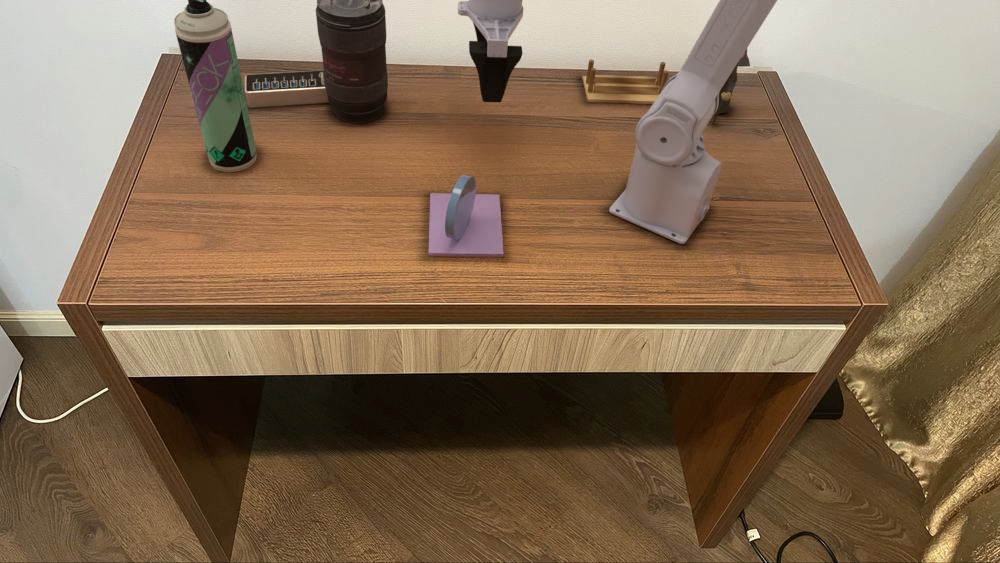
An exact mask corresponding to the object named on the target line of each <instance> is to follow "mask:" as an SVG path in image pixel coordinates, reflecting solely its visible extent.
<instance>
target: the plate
mask: <svg viewBox="0 0 1000 563" xmlns="http://www.w3.org/2000/svg"><path fill="white" fill-rule="evenodd" d="M476 194H477V181H476V178H475V177H474V176H473V175H470V174H467V173H466V174H465V173H464V174H461V175H460V176H459V177H458V179H457V181H456V182H455V184H454V186H453V188H452V191H451V196H450V199H449V203H448V207H447V212H446V218H445V234H446V236H447V237H448V238H450V239H454V240H459V239H460V238H461V237H462V235H463V234H464V232H465V230H466V228H467V226H468V223H469V220H470V217H471V214H472V210H473V206H474V201H475V195H476Z"/></svg>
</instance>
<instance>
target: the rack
mask: <svg viewBox="0 0 1000 563" xmlns="http://www.w3.org/2000/svg"><path fill="white" fill-rule="evenodd" d="M594 65H595V60H594V59H589V60H588V65H587V71H586V75H582V79H581V80H582V83H583V87H584V92H585V96H586V101H587V103H603V104H605V103H606V104H609V103H610V104H637V105H653V103H654V102H655V100H656V99H657V97H658V96H659V95H660V93H661V92H662V88H663V87H664V85H665V83H666V82H667V81H668V79H669V78H668V77H669V73H670V71H669V70H665V68H666V62H665V61H660V64H659V68H658V72H657V76H647V75H646V76H644V75H643V76H642V75H616V74H615V75H614V74H597V68H596V67H594Z"/></svg>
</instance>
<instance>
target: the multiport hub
mask: <svg viewBox="0 0 1000 563" xmlns="http://www.w3.org/2000/svg"><path fill="white" fill-rule="evenodd" d="M244 93H245V98H246V103H247V108H248V109H249V108H250V109H253V108H254V109H255V108H269V107H285V106H286V107H287V106H299V105H316V104H328V103H329V100H328V96H327V92H326V88H325V82H324V69H319V70H304V71H286V72H283V71H282V72H268V73H267V72H266V73H251V74H245V76H244ZM329 104H330V103H329Z"/></svg>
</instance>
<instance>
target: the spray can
mask: <svg viewBox="0 0 1000 563" xmlns="http://www.w3.org/2000/svg"><path fill="white" fill-rule="evenodd" d="M187 2H188V3H187V5H185V7H184V9H183V11H181V12H179V13H177V15H176V16H175V17H174V19H173V24H174V32H175V35H176V40H177V43H178V47H179V51H180V56H181V58H182V59H181V60H182V63H183V67H184V71H185V73H186V77H187V82H188V86H189V89H190V94H191V97H192V100H193V104H194V109H195V113H196V116H197V119H198V120H197V121H198V125H199V127H200V131H201V135H202V139H203V143H204V147H205V151H206V155H207V158H208V161H209V164H210V165H211V167H212V168H213V169H215V170H216V171H220V172H222V173H223V172H224V173H235V172H240V171H244V170H246V169H249V168H250V167H251V166H253V165H254V163H255V162H256V161H257V158H258V152H257V147H256V143H255V142H256V141H255V139H254V133H253V128H252V123H251V119H250V114H249V107H248V105H247V100H246V95H245V87H244V83H243V79H242V74H241V70H240V69H241V68H240V64H239V59H238V54H237V50H236V44H235V39H234V34H233V30H232V25H231V24H232V23H231V22H230V20H229V15H228V14H227V13H226V12H225V11H224V10H222V9H219V8H216V7H214V6H213V5H212V4H211V3H209V2H208V1H207V0H187Z"/></svg>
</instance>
